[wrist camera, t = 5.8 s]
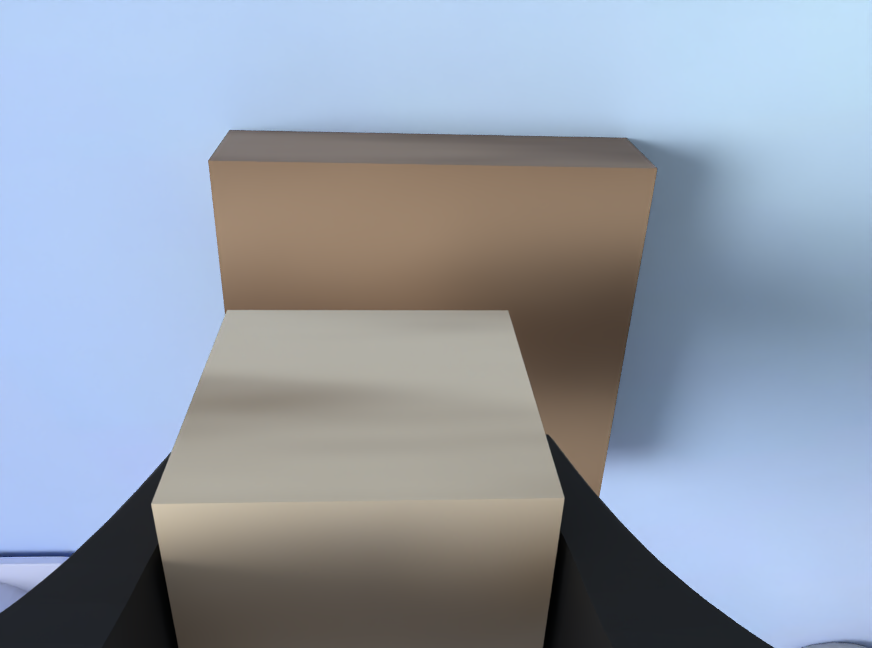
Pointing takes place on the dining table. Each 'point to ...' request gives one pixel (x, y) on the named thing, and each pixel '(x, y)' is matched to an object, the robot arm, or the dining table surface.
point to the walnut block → (451, 245)
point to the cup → (835, 645)
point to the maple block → (361, 486)
